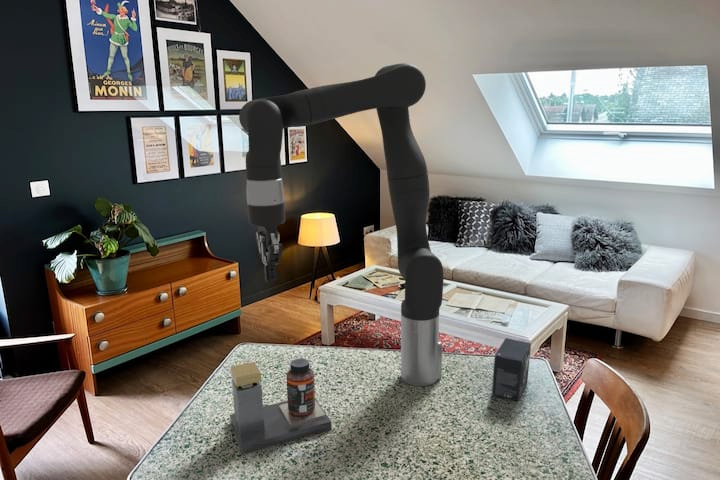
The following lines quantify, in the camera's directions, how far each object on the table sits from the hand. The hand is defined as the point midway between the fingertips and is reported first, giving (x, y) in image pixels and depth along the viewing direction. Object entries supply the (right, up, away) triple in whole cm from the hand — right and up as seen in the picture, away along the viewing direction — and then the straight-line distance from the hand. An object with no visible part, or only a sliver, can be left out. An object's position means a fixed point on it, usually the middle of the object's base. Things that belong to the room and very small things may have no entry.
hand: (270, 280), depth 116 cm
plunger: (-4, -29, -1) cm, 30 cm away
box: (+55, -27, +16) cm, 63 cm away
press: (+2, -31, +2) cm, 32 cm away
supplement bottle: (+6, -28, +4) cm, 29 cm away
